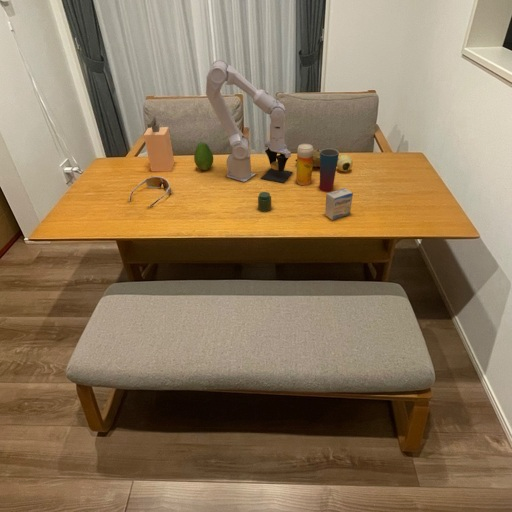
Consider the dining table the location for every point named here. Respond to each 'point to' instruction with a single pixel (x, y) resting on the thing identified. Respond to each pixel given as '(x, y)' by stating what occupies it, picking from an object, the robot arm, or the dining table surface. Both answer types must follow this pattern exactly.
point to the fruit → (203, 156)
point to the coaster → (277, 175)
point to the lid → (274, 165)
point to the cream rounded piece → (344, 163)
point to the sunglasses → (155, 185)
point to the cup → (328, 168)
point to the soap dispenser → (159, 147)
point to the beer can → (304, 164)
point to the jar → (264, 201)
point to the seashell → (315, 158)
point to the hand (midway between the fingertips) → (277, 168)
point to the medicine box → (338, 203)
